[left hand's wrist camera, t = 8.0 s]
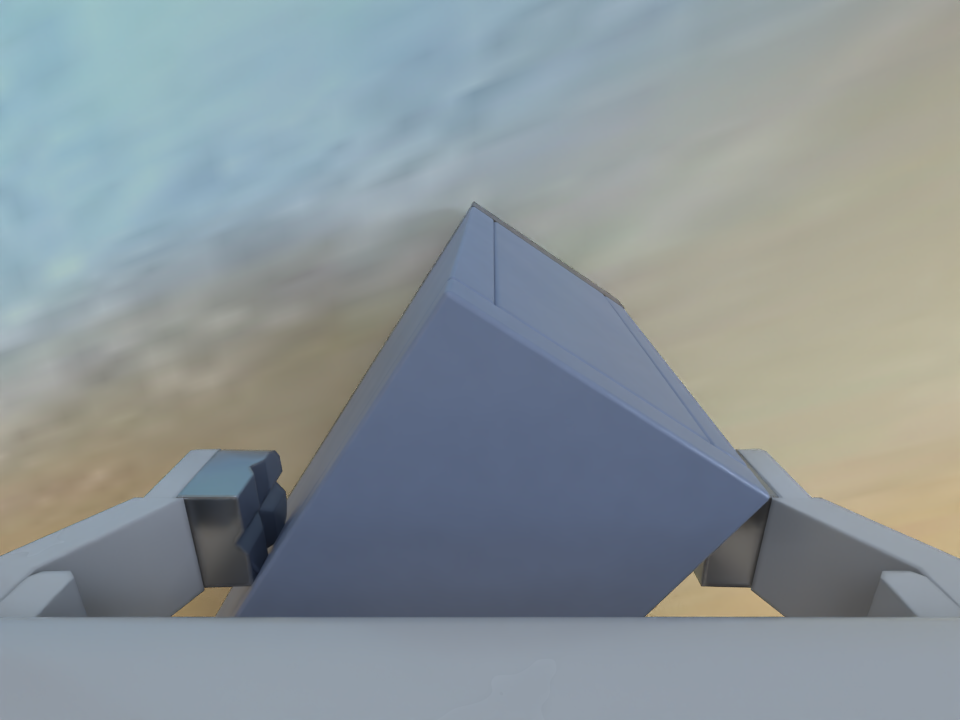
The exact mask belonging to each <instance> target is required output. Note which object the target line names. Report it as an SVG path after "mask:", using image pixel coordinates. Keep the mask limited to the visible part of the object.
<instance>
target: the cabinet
mask: <svg viewBox="0 0 960 720" xmlns="http://www.w3.org/2000/svg"><path fill="white" fill-rule="evenodd" d="M624 309H625V308H624V307H623V306H622V304H621V303H620V302H619V301H618V299H616V298H615V297H613V296H612V295H610V294H609V293H607V292H606V291H605V290H603V289H602V288H600V287H599V286H597V285H596V284H594V283H593V282H591V281H590V280H588V279H587V278H585V277H584V276H583V275H581V274H580V273H578V272H577V271H575V270H574V269H572V268H571V267H569V266H568V265H566V264H565V263H563V262H562V261H560V260H559V259H558V258H556V257H555V256H553V255H552V254H550V253H549V252H547V251H546V250H544V249H543V248H541V247H540V246H538V245H537V244H536V243H534V242H533V241H531V240H530V239H528V238H527V237H525V236H524V235H522V234H521V233H519V232H518V231H516V230H515V229H514V228H512V227H511V226H509V225H508V224H506V223H505V222H503V221H502V220H500V219H499V218H497V217H496V216H494V215H493V214H492V213H490V212H489V211H487V210H486V209H484V208H483V207H481V206H480V205H478V204H477V203H475V202H473V203H472V205H471V207H470V208H469V210H468V211H467V213H466V214H465V216H464V218H463V219H462V221H461V222H460V224H459V226H458V227H457V229H456V230H455V232H454V234H453V235H452V237H451V238H450V240H449V242H448V243H447V245H446V246H445V248H444V250H443V251H442V253H441V254H440V256H439V258H438V259H437V261H436V262H435V264H434V265H433V267H432V269H431V270H430V272H429V273H428V275H427V277H426V278H425V280H424V281H423V283H422V285H421V286H420V288H419V289H418V291H417V293H416V294H415V296H414V297H413V299H412V301H411V302H410V304H409V305H408V307H407V309H406V310H405V312H404V313H403V315H402V316H401V318H400V320H399V321H398V323H397V324H396V326H395V328H394V329H393V331H392V332H391V334H390V336H389V337H388V339H387V340H386V342H385V344H384V345H383V347H382V348H381V350H380V352H379V353H378V355H377V356H376V358H375V360H374V361H373V363H372V364H371V366H370V367H369V369H368V371H367V372H366V374H365V375H364V377H363V379H362V380H361V382H360V383H359V385H358V387H357V388H356V390H355V391H354V393H353V395H352V396H351V398H350V399H349V401H348V403H347V404H346V406H345V407H344V409H343V411H342V412H341V414H340V415H339V417H338V418H337V420H336V422H335V423H334V425H333V426H332V428H331V430H330V431H329V433H328V434H327V436H326V438H325V439H324V441H323V442H322V444H321V446H320V447H319V449H318V450H317V452H316V454H315V455H314V457H313V458H312V460H311V461H310V463H309V465H308V466H307V468H306V469H305V471H304V473H303V474H302V476H301V477H300V479H299V481H298V482H297V484H296V485H295V487H294V489H293V490H292V492H291V493H290V495H289V497H288V498H287V517H286V522H285V525H284V527H283V529H282V530H281V532H280V534H279V536H278V538H277V540H276V541H275V543H274V544H273V545H272V546H270V547H269V548H267V550H268V556H267V558H266V560H265V562H264V564H263V566H262V568H261V570H260V572H259V573H258V575H257V577H256V579H255V580H254V582H253V584H252V585H251V586H243V587H232V588H231V590H230V592H229V593H228V595H227V597H226V599H225V601H224V602H223V604H222V606H221V607H220V609H219V611H218V613H217V614H216V616H215V617H645V616H646V615H647V614H648V613H649V612H650V611H651V610H652V609H653V608H655V607H656V606H657V605H658V604H659V603H660V602H661V601H662V600H663V599H664V598H665V597H666V596H667V595H668V594H669V593H670V592H672V591H673V590H674V589H675V588H676V587H677V586H678V585H679V584H680V583H681V582H682V581H683V580H684V579H685V578H686V577H687V576H689V575H690V574H691V573H692V572H693V571H694V570H695V569H696V568H697V567H698V566H699V565H700V564H701V563H702V562H703V561H704V560H706V559H707V558H708V557H709V556H710V555H711V554H712V553H713V552H714V551H715V550H716V549H717V548H718V547H719V546H720V545H721V544H723V543H724V542H725V541H726V540H727V539H728V538H729V537H730V536H731V535H732V534H733V533H734V532H735V531H736V530H737V529H738V528H740V527H741V526H742V525H743V524H744V523H745V522H746V521H747V520H748V519H749V518H750V517H751V516H752V515H753V514H754V513H755V512H757V511H758V510H759V509H760V508H761V507H762V506H763V505H764V504H765V503H766V502H767V501H768V500H769V498H770V496H769V494H768V492H767V490H766V489H765V488H764V487H763V485H762V484H761V483H760V482H759V480H758V479H757V478H756V476H755V475H754V474H753V473H752V471H751V470H750V469H749V468H747V465H746V464H745V462H744V461H743V460H742V458H741V457H740V456H739V455H738V453H737V452H736V451H735V449H734V448H733V447H732V446H731V444H730V443H729V442H728V441H727V439H726V438H725V437H724V436H723V434H722V433H721V432H720V430H719V429H718V428H717V427H716V425H715V424H714V423H713V422H712V420H711V419H710V418H709V416H708V415H707V414H706V413H705V411H704V410H703V409H702V408H701V406H700V405H699V404H698V402H697V401H696V400H695V399H694V397H693V396H692V395H691V394H690V392H689V391H688V390H687V389H686V387H685V386H684V385H683V383H682V382H681V381H680V380H679V378H678V377H677V376H676V375H675V373H674V372H673V371H672V369H671V368H670V367H669V366H668V364H667V363H666V362H665V361H664V359H663V358H662V357H661V356H660V354H659V353H658V352H657V350H656V349H655V348H654V347H653V345H652V344H651V343H650V342H649V340H648V339H647V338H646V336H645V335H644V334H643V333H642V331H641V330H640V329H639V328H638V326H637V325H636V324H635V322H634V321H633V320H632V319H631V317H630V316H629V315H628V314H627V312H626V311H625V310H624Z"/></svg>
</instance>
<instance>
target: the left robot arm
mask: <svg viewBox="0 0 960 720" xmlns="http://www.w3.org/2000/svg"><path fill="white" fill-rule="evenodd" d="M735 451H736V452H737V453H738V455H739V456H740V457H741V458H742V460H743V461H744V462H745V464H746V465H747V468H749V469H750V470H751V471H752V473H753V474H754V475H755V476H756V478H757V479H758V480H759V482H760V483H761V484H762V485H763V487H764V488H765V489H766V490H767V492H768V494H769V496H770V498H769V500H768V501H767V502H766V503H765V504H764V505H763V506H762V507H761V508H760V509H759V510H758V511H757V512H755V513H754V514H753V515H752V516H751V517H750V518H749V519H748V520H747V521H746V522H745V523H744V524H743V525H742V526H741V527H740V528H738V529H737V530H736V531H735V532H734V533H733V534H732V535H731V536H730V537H729V538H728V539H727V540H726V541H725V542H724V543H723V544H721V545H720V546H719V547H718V548H717V549H716V550H715V551H714V552H713V553H712V554H711V555H710V556H709V557H708V558H707V559H706V560H704V561H703V562H702V563H701V564H700V565H699V566H698V567H697V568H696V569H695V570H694V573H695V575H696V577H697V579H698V581H699V583H700V585H701V586H711V587H748V588H751V590H752V591H753V592H754V593H756V594H757V595H758V596H759V597H761V598H762V599H763V600H764V601H766V602H767V603H768V604H769V605H771V606H772V607H773V608H775V609H776V610H777V611H778V612H780V613H781V614H782V615H783V616H785V617H171V616H172V615H173V614H175V613H176V612H177V611H178V610H180V609H181V608H182V607H184V606H185V605H186V604H187V603H189V602H190V601H191V600H193V599H194V598H195V597H196V596H198V595H199V594H200V593H201V592H203V591H204V588H208V587H243V586H251V585H252V584H253V582H254V580H255V579H256V577H257V575H258V573H259V572H260V570H261V568H262V566H263V564H264V562H265V560H266V558H267V556H268V550H267V548H269V547H270V546H272V545H273V544H274V543H275V541H276V540H277V538H278V536H279V534H280V532H281V530H282V529H283V527H284V525H285V522H286V517H287V499H286V491H285V490H284V489H283V488H282V487H281V486H280V485H279V484H278V483H277V482H276V481H277V479H278V477H279V476H280V474H281V473H282V466H281V461H280V456H279V455H278V453H277V452H276V451H275V450H227V449H224V450H221V449H197V450H191V451H190V452H189V453H188V454H187V455H186V456H185V457H184V458H183V459H182V460H181V461H180V462H179V463H178V464H177V465H176V466H175V467H174V468H173V469H172V470H171V471H170V472H169V473H168V474H167V475H166V476H165V477H164V478H163V479H162V480H161V481H160V482H159V483H158V484H157V485H156V486H155V487H154V488H153V489H152V490H151V491H150V492H149V493H148V494H147V495H146V496H145V497H144V498H133V499H130V500H128V501H126V502H123V503H121V504H119V505H117V506H114V507H112V508H110V509H107V510H105V511H103V512H100V513H98V514H96V515H94V516H91V517H89V518H87V519H84V520H82V521H80V522H77V523H75V524H73V525H71V526H68V527H66V528H64V529H61V530H59V531H57V532H54V533H52V534H50V535H48V536H45V537H43V538H41V539H38V540H36V541H34V542H31V543H29V544H27V545H25V546H22V547H20V548H18V549H15V550H13V551H11V552H8V553H6V554H4V555H2V556H0V720H960V559H959V558H957V557H955V556H952V555H950V554H948V553H945V552H943V551H941V550H939V549H936V548H934V547H932V546H930V545H927V544H925V543H923V542H920V541H918V540H916V539H914V538H911V537H909V536H907V535H904V534H902V533H900V532H898V531H895V530H893V529H891V528H889V527H886V526H884V525H882V524H879V523H877V522H875V521H873V520H870V519H868V518H866V517H864V516H861V515H859V514H857V513H854V512H852V511H850V510H848V509H845V508H843V507H841V506H838V505H836V504H834V503H832V502H829V501H827V500H825V499H823V498H812V497H811V496H810V495H809V494H808V493H807V492H806V491H805V490H804V489H803V488H802V487H801V486H800V485H799V484H798V483H797V482H796V481H795V480H794V479H793V478H792V477H791V476H790V475H789V474H788V473H787V472H786V471H785V470H784V469H783V468H782V467H781V466H780V465H779V464H778V463H777V462H776V461H775V460H774V459H773V458H772V457H771V456H770V455H769V454H768V453H767V452H766V451H764V450H761V449H742V450H735Z"/></svg>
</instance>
